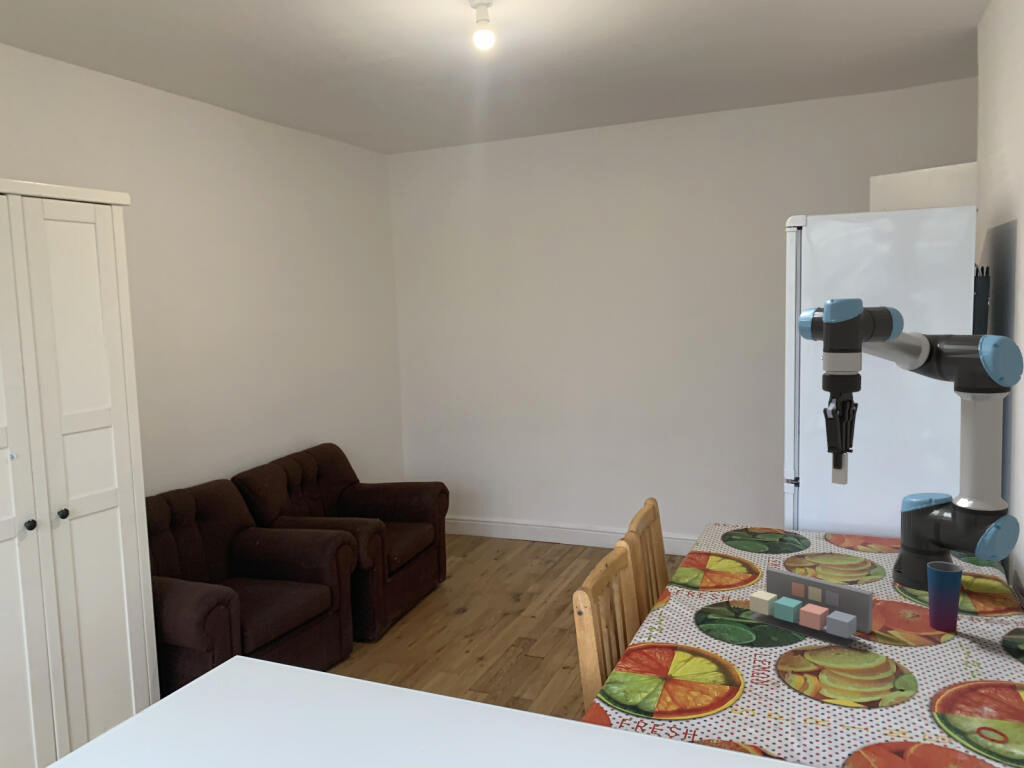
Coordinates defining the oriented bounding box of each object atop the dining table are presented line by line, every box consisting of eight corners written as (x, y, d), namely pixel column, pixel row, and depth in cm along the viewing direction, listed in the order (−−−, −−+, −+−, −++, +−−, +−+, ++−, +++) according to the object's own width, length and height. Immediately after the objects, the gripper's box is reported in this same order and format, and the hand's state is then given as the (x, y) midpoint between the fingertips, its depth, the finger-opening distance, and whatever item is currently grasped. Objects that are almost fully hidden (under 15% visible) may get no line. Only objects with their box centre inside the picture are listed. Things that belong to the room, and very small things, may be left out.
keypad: (771, 606, 186) (771, 566, 185) (872, 635, 169) (873, 591, 168) (737, 626, 175) (737, 584, 174) (842, 659, 158) (843, 613, 157)
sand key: (759, 604, 180) (759, 590, 180) (777, 609, 177) (777, 594, 176) (749, 610, 177) (749, 595, 177) (767, 615, 174) (767, 600, 173)
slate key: (835, 625, 167) (835, 610, 167) (856, 631, 164) (856, 616, 163) (826, 632, 164) (826, 616, 164) (847, 638, 161) (847, 622, 160)
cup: (965, 639, 165) (967, 572, 164) (931, 637, 167) (933, 571, 165) (953, 626, 172) (955, 561, 170) (921, 624, 173) (922, 560, 172)
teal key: (783, 611, 176) (783, 596, 175) (802, 616, 172) (802, 601, 172) (773, 617, 173) (774, 602, 172) (793, 622, 169) (793, 607, 169)
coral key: (808, 618, 171) (808, 603, 171) (828, 624, 168) (828, 608, 168) (799, 624, 168) (799, 609, 168) (819, 630, 165) (819, 614, 165)
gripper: (835, 369, 167) (833, 475, 169) (810, 374, 157) (809, 486, 160) (871, 370, 161) (869, 480, 164) (848, 375, 152) (845, 491, 154)
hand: (839, 483), depth 162 cm, fingers closed
